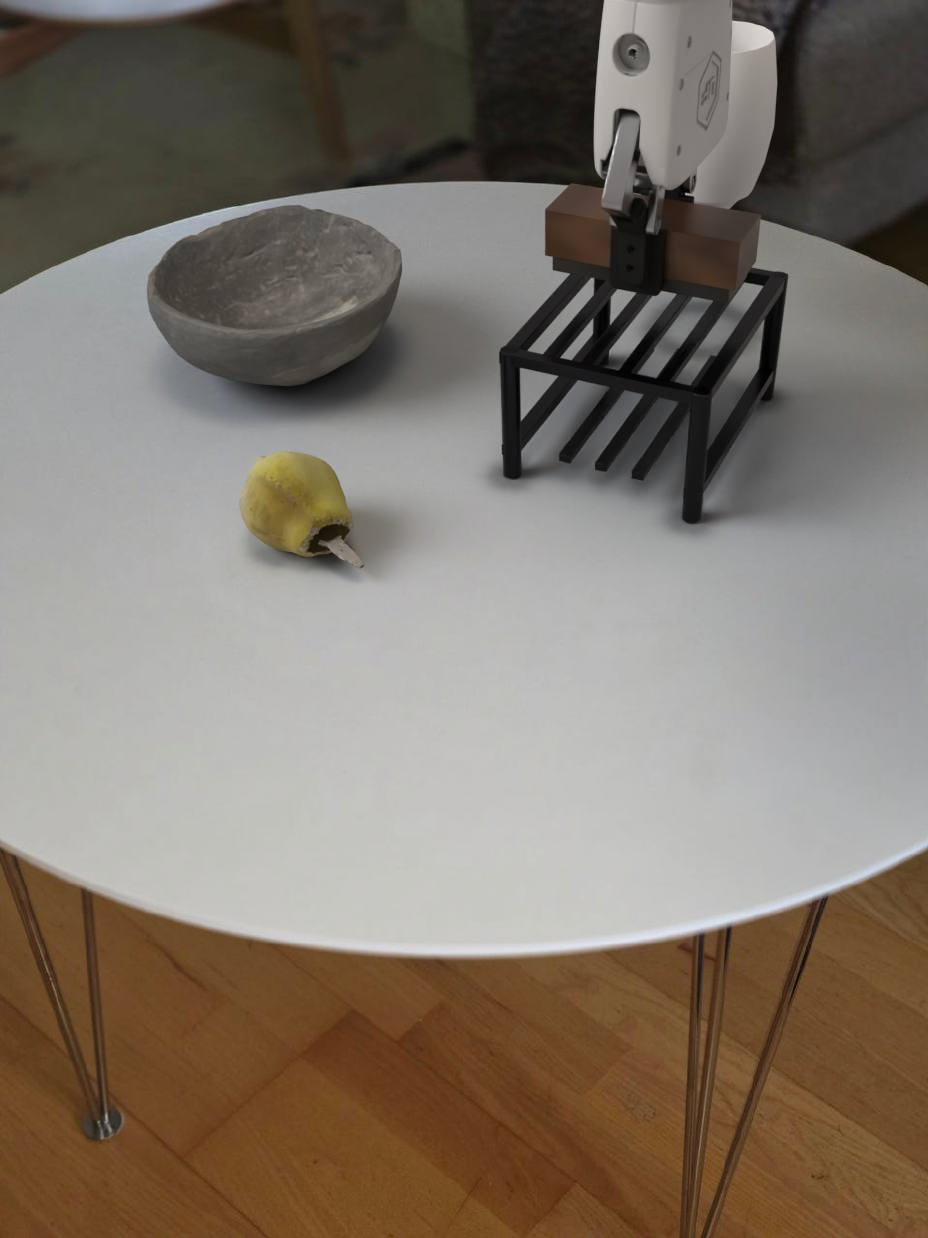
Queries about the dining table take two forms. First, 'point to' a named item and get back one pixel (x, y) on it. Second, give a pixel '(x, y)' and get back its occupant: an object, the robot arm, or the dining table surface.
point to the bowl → (275, 294)
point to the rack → (641, 378)
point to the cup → (742, 120)
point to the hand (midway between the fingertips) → (650, 269)
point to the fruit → (297, 506)
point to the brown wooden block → (695, 242)
